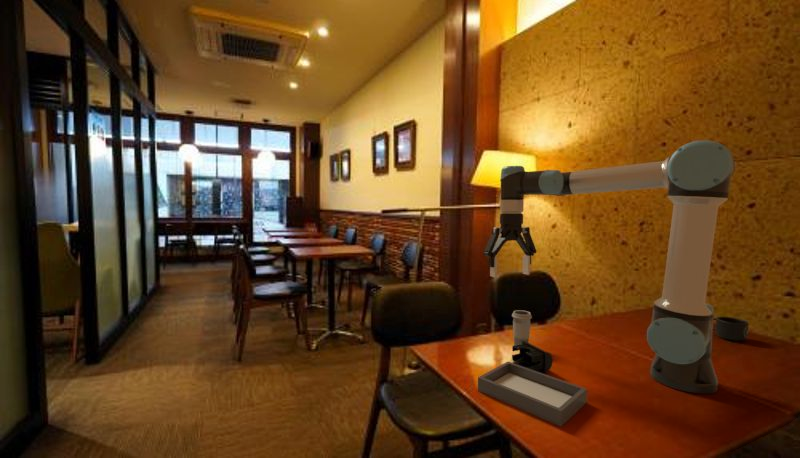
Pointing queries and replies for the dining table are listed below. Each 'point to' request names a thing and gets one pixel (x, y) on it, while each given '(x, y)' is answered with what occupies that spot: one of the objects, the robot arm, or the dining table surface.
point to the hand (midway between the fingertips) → (510, 275)
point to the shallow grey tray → (533, 392)
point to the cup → (521, 326)
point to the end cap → (532, 357)
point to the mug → (731, 328)
